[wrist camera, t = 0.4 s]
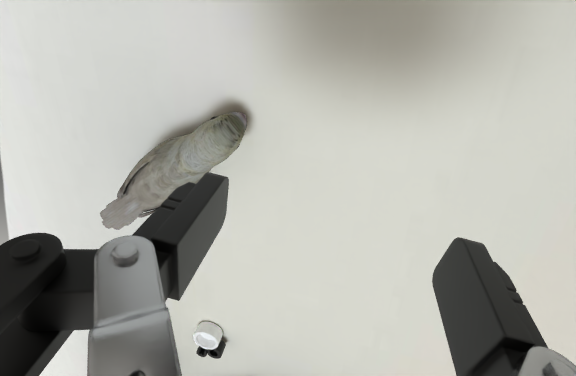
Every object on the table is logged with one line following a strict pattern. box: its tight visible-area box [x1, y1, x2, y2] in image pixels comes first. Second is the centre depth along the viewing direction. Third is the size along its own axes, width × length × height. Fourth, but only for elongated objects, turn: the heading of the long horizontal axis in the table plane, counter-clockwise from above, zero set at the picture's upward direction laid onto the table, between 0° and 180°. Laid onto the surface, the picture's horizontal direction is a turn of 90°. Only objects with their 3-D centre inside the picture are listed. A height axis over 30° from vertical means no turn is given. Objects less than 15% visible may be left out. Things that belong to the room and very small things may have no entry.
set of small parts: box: [193, 322, 226, 358], centre depth 54 cm, size 20×25×3 cm
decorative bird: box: [100, 112, 247, 230], centre depth 29 cm, size 5×16×8 cm, turn 127°
